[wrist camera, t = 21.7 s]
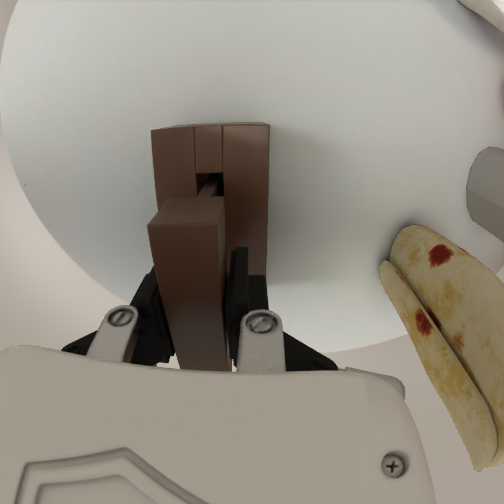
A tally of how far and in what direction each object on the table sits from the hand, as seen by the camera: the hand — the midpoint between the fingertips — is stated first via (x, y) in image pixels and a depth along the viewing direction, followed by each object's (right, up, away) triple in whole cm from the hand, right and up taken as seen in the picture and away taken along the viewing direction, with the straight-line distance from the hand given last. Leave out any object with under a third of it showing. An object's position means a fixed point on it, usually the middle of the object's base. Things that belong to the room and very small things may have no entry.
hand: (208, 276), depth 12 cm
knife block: (0, +4, +7) cm, 8 cm away
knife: (0, +4, +7) cm, 8 cm away
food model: (+16, +1, +10) cm, 18 cm away
